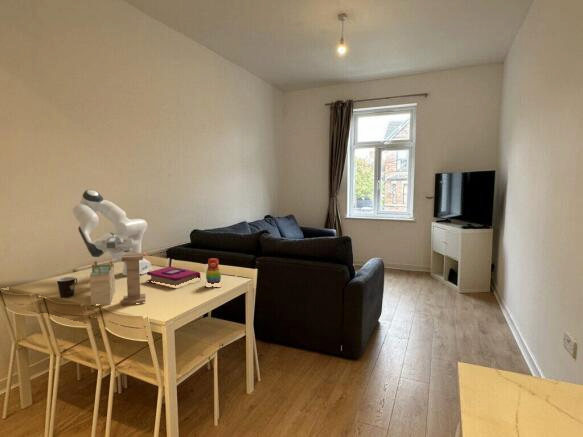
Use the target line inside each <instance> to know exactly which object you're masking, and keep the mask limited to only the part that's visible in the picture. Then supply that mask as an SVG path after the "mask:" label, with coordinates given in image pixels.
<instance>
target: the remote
mask: <svg viewBox="0 0 583 437" xmlns="http://www.w3.org/2000/svg"><path fill="white" fill-rule="evenodd" d="M118 237H119V235H117V236H116V237H110V238H109V240H108V241H107V248H116V245H117V243H118Z"/></svg>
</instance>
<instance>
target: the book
mask: <svg viewBox="0 0 583 437" xmlns="http://www.w3.org/2000/svg"><path fill="white" fill-rule="evenodd" d="M146 275H147V276H150V279H147V280H146V282H147V281H149V282H151V281H153V282H154V281H155V282H160V283H165V284H170V285H175V286H176V285H179V284H181V283H184V282H187V281H189V280H192V279H194V278H197V277H198V278H200V279H201V272H200V271H196V270H190V269H186V268H185V269H184V268H180V267H176V266H175V267H174V266H167V267H163V268H159V269H155V270H154V271H149V272H147V274H146Z"/></svg>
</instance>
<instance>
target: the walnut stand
mask: <svg viewBox="0 0 583 437" xmlns="http://www.w3.org/2000/svg"><path fill="white" fill-rule="evenodd" d="M143 253H144V252H141V253H128V254H123V256H122V259H121V262H124V261H126V265H127V276H126V284H127V286H126V287H127V291H126V292H127V295H123V297H122V302H121V305H122V307H125V305H128V306H130V305H129V304H136V303H143V302H145V303H146V293H141V275H140V268H139V260H143V257H144V256H143Z"/></svg>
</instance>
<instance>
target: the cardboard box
mask: <svg viewBox="0 0 583 437" xmlns="http://www.w3.org/2000/svg"><path fill="white" fill-rule="evenodd" d="M91 270H92V272H91V273H90V275H89V285H90V288H89V290H90V306H91V305H96V304H100V306H106V305H107V306H108V305H111V304H112V301H113V299H114V296H115V293H116V286H115V285H116V284H115V283H116V281H115V265H114V263H113V260H109V263H108V264H98V261H96V260H95V261H93V264H91Z"/></svg>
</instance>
